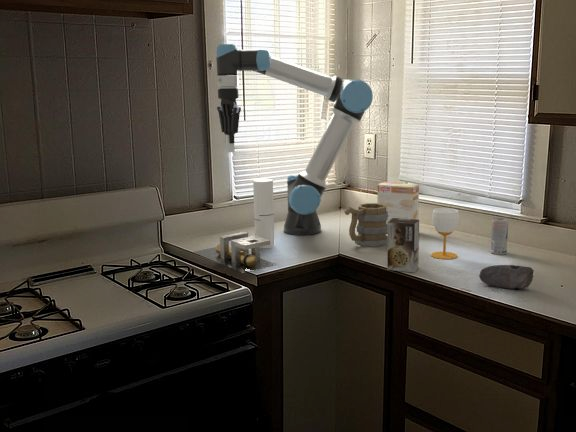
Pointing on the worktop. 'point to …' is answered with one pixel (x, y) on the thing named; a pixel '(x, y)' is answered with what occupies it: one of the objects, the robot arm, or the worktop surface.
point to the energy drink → (499, 236)
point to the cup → (445, 228)
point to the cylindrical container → (264, 210)
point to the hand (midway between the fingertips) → (230, 151)
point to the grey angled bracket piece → (225, 244)
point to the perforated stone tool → (507, 276)
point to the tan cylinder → (242, 257)
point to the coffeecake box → (399, 200)
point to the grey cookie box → (403, 245)
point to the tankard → (369, 224)
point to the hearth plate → (216, 257)
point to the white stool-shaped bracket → (247, 247)
